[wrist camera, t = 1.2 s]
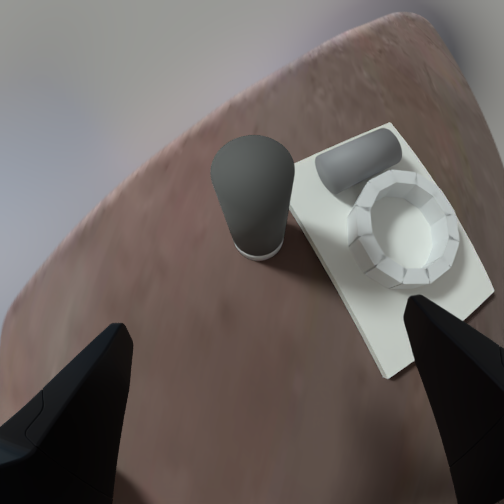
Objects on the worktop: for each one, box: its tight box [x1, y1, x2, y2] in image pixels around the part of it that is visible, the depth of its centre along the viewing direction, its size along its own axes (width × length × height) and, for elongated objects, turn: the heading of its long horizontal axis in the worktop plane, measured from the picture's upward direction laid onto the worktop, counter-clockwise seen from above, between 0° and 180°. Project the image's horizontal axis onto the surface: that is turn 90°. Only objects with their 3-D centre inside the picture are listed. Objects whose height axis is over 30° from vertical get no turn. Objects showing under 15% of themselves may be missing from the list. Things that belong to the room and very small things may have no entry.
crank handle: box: [211, 135, 295, 261], centre depth 18 cm, size 4×4×10 cm
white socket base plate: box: [289, 123, 494, 379], centre depth 20 cm, size 17×12×4 cm
